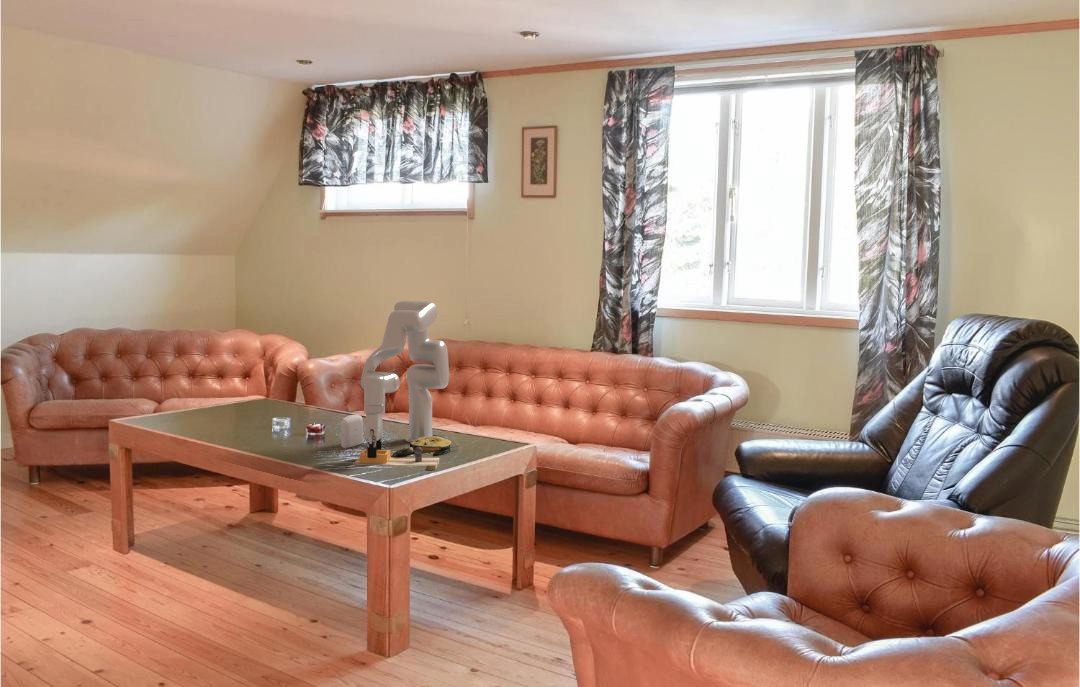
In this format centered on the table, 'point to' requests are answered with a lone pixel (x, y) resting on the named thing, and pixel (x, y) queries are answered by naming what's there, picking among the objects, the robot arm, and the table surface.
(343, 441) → the photo printer
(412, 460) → the keeper board
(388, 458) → the link
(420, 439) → the pulley block
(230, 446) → the table surface
